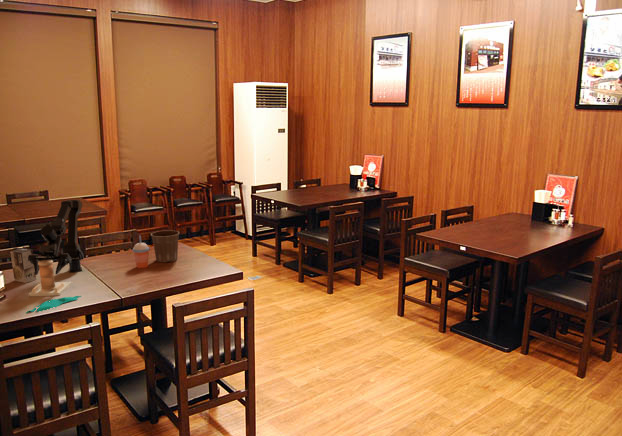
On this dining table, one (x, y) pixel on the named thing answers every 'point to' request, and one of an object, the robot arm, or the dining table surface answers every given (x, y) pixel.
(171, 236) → the plant pot
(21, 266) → the coffee box
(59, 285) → the cream square tray
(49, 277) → the bobbin
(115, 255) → the dining table surface
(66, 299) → the cloth
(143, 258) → the cup with straw
